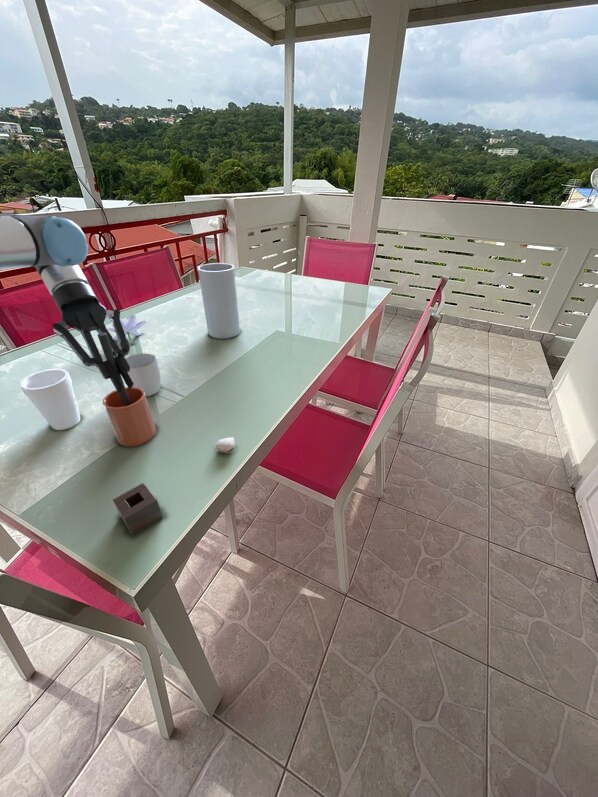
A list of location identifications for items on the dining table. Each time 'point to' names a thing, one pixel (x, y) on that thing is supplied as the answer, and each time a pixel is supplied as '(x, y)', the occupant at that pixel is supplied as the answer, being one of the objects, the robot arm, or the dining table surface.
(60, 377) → the foam cup
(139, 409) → the tumbler
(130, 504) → the holder
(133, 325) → the water lily
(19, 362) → the dining table surface
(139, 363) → the mug
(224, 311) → the cylinder vase
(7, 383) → the dining table surface
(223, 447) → the white seashell
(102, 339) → the rod
